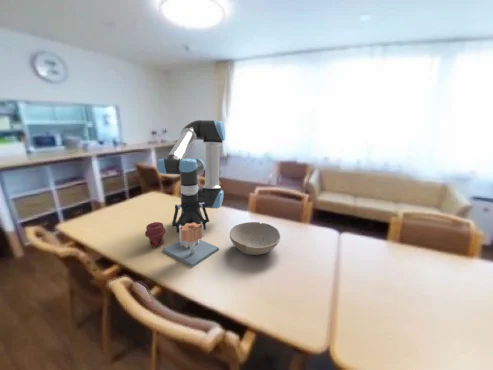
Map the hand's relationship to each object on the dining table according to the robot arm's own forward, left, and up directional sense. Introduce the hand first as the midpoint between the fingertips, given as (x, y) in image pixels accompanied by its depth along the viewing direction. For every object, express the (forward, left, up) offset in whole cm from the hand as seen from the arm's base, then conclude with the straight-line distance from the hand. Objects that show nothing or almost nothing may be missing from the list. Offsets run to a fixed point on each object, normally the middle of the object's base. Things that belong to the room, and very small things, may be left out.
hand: (191, 236), depth 114 cm
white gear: (-6, -9, -9) cm, 14 cm away
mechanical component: (+4, -24, -11) cm, 26 cm away
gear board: (-3, -5, -11) cm, 12 cm away
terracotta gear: (0, 0, 0) cm, 0 cm away
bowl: (-24, +21, -11) cm, 34 cm away
